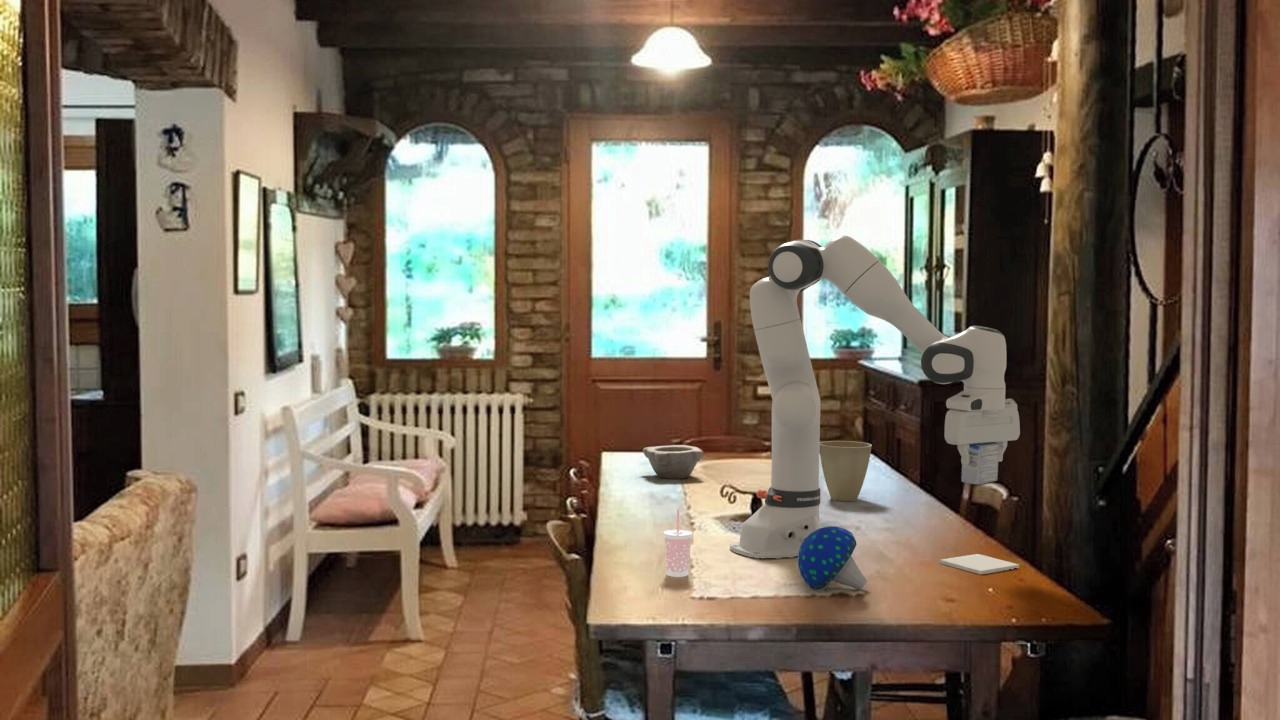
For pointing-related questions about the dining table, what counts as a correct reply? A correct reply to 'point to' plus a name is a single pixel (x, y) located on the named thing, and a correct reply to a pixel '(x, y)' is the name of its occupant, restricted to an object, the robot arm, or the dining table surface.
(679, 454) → the mortar
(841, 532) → the mushroom
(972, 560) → the ceramic tile
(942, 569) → the dining table surface
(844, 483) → the plant pot
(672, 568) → the beverage cup
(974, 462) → the medicine box
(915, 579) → the dining table surface
